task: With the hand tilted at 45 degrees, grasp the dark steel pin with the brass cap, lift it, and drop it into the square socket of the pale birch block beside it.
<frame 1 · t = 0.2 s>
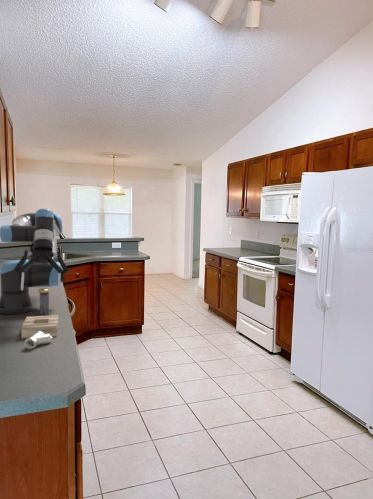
hand: (40, 289, 138), 15 cm above the worktop, tool tilted 35°, fingers open, 13 cm apart
steel pin: (44, 319, 149), on the worktop
pipe fitting: (39, 345, 120), on the worktop
socket block: (41, 331, 134), on the worktop
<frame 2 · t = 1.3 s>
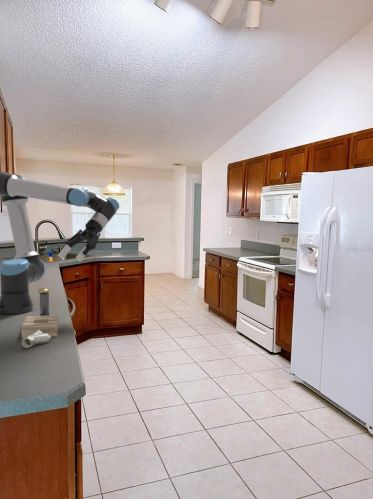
hand: (68, 258, 154), 26 cm above the worktop, tool tilted 45°, fingers open, 13 cm apart
pipe fitting: (37, 345, 121), on the worktop
everything else where it was.
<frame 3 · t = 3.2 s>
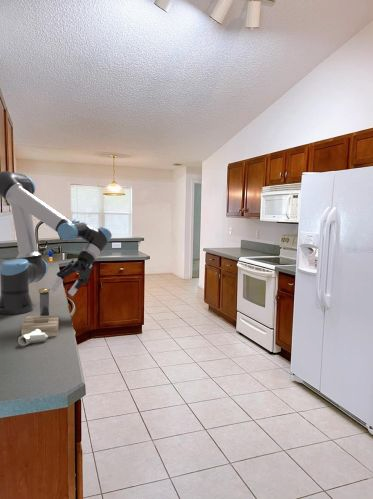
hand: (60, 292, 153), 11 cm above the worktop, tool tilted 45°, fingers open, 13 cm apart
pipe fitting: (34, 343, 122), on the worktop, touching socket block
everything else where it was.
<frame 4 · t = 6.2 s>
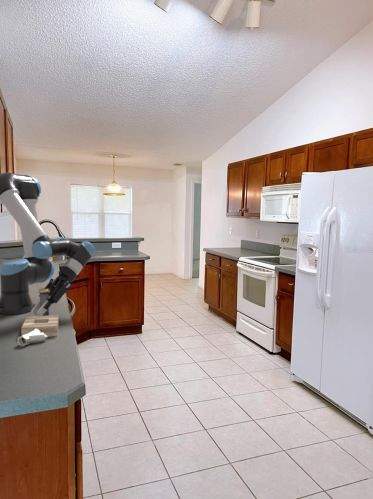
hand: (36, 313, 146), 3 cm above the worktop, tool tilted 45°, fingers closed on steel pin, 3 cm apart
steel pin: (44, 319, 149), on the worktop, touching gripper
pipe fitting: (33, 343, 122), on the worktop
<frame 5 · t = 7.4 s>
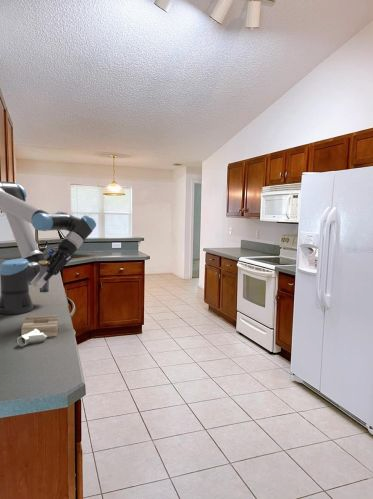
hand: (35, 285, 144), 15 cm above the worktop, tool tilted 45°, fingers closed on steel pin, 3 cm apart
steel pin: (44, 291, 148), point 12 cm above the worktop, touching gripper
everything else where it was.
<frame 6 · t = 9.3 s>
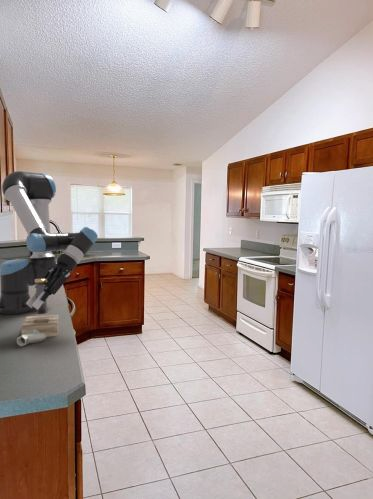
hand: (31, 306, 130), 10 cm above the worktop, tool tilted 45°, fingers closed on steel pin, 3 cm apart
steel pin: (41, 312, 133), point 7 cm above the worktop, touching gripper
everything else where it was.
when the fingers open (6 cm above the worktop, at t = 10.3 s): steel pin drops 3 cm, resting in socket block.
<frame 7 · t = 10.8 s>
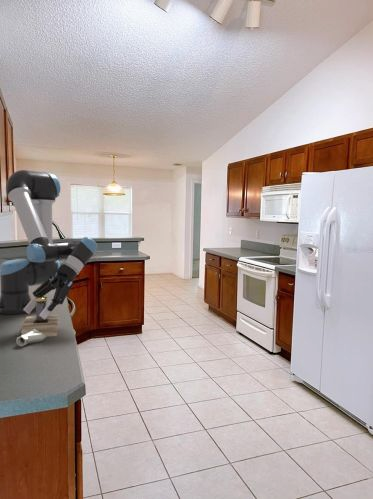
hand: (33, 314, 131), 7 cm above the worktop, tool tilted 45°, fingers open, 10 cm apart
steel pin: (41, 331, 134), resting in socket block
everything else where it was.
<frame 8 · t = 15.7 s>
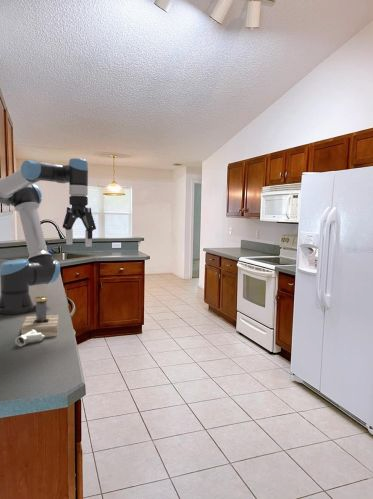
hand: (78, 245, 150), 32 cm above the worktop, tool pointing down, fingers open, 13 cm apart
at the end: steel pin 0.1 cm off-centre on the socket block, point 0.0 cm above the socket block's base; steel pin tilted 0°; the gripper is holding nothing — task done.
